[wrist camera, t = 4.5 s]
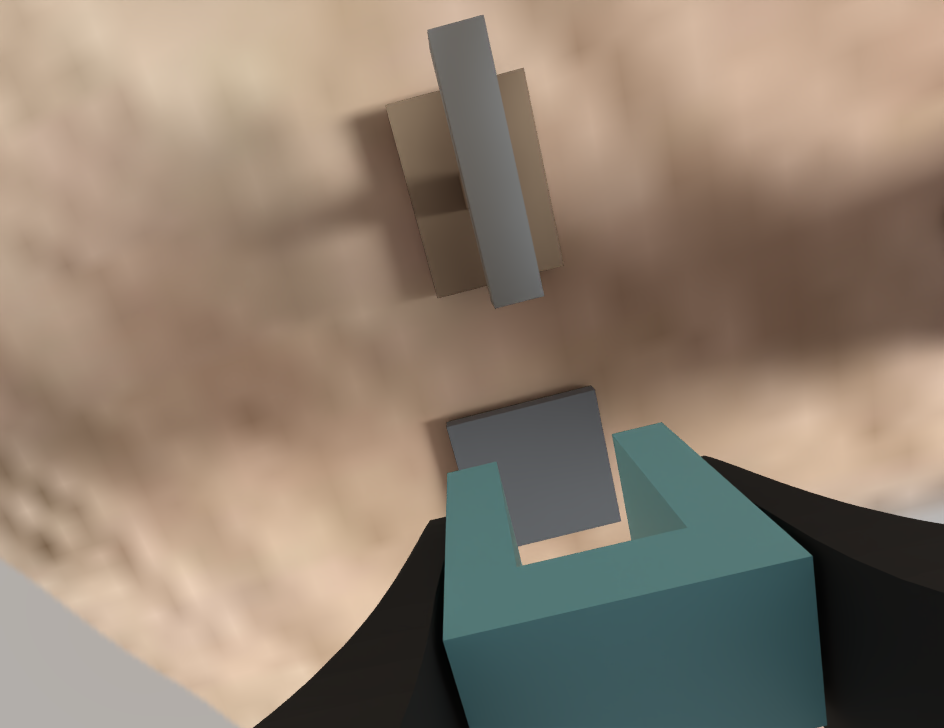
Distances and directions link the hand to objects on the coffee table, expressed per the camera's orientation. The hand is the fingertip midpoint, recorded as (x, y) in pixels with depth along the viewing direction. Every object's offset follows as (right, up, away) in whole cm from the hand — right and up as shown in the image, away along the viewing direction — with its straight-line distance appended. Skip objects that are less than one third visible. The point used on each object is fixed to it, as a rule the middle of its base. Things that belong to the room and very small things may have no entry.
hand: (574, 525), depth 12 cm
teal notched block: (0, 0, +1) cm, 1 cm away
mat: (0, -1, +11) cm, 11 cm away
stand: (-2, +10, +8) cm, 13 cm away
